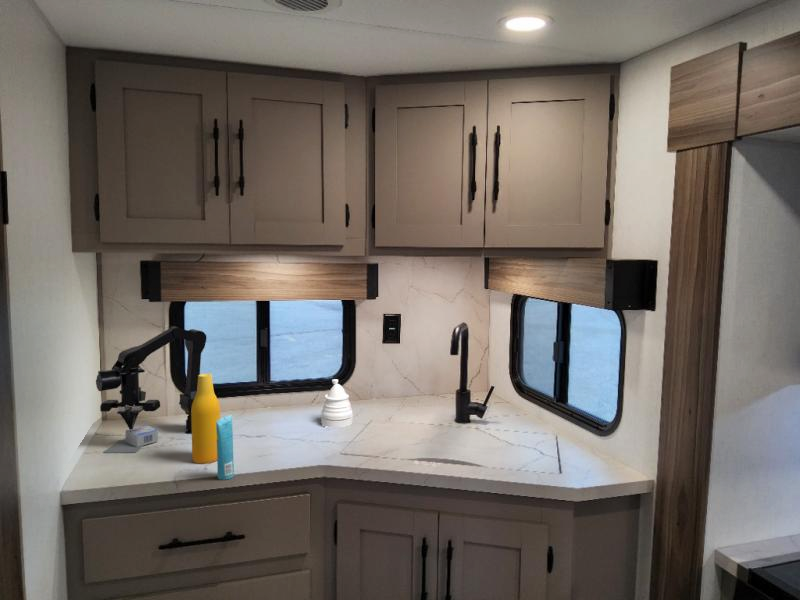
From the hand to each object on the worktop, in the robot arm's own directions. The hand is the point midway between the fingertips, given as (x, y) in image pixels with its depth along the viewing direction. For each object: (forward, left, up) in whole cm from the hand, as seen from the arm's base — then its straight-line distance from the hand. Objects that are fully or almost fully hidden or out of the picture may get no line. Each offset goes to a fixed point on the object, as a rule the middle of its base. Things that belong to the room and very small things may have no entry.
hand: (131, 429), depth 198 cm
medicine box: (-5, -1, -4) cm, 7 cm away
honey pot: (-72, -25, -7) cm, 76 cm away
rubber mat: (+2, 0, -7) cm, 7 cm away
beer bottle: (-30, +12, -7) cm, 33 cm away
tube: (-40, +27, -7) cm, 48 cm away
